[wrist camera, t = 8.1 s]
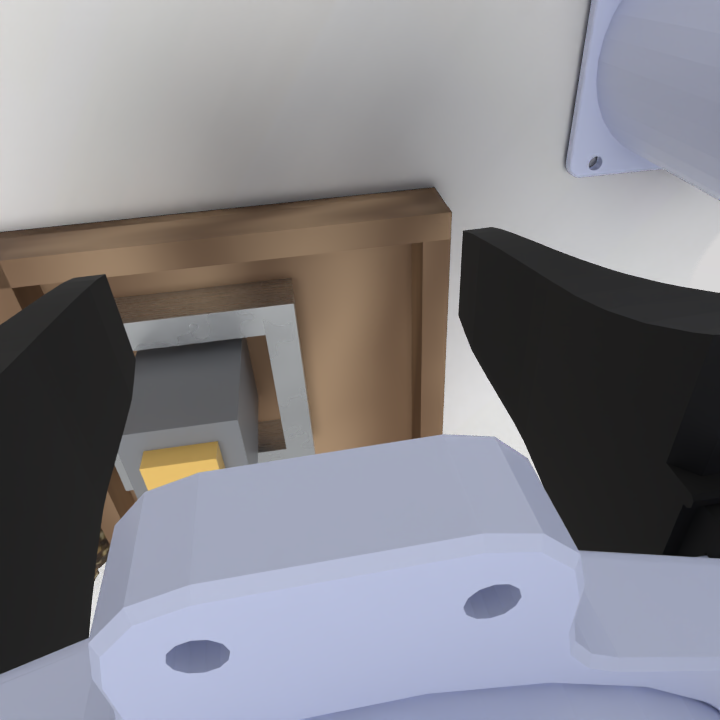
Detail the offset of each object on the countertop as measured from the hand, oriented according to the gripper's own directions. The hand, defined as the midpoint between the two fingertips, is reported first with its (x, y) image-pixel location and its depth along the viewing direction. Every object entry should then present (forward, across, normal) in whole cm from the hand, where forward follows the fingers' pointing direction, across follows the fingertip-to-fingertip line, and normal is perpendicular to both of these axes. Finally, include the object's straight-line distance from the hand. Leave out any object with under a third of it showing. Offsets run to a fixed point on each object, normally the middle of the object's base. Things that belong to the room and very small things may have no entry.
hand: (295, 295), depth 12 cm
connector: (+10, +4, +8) cm, 14 cm away
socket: (+10, +4, +9) cm, 14 cm away
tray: (+10, +2, +11) cm, 15 cm away
